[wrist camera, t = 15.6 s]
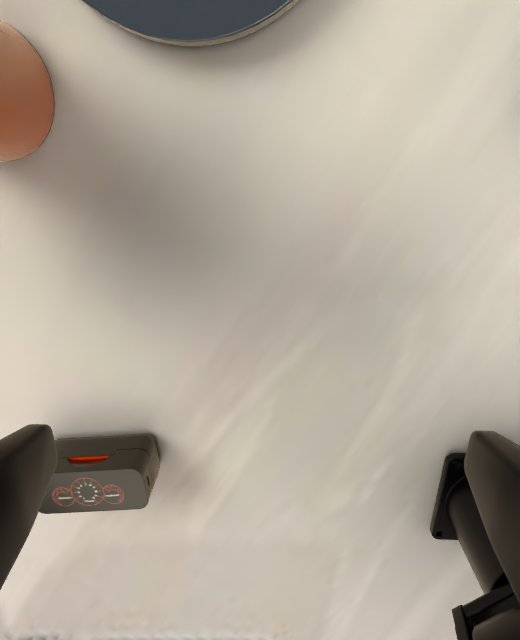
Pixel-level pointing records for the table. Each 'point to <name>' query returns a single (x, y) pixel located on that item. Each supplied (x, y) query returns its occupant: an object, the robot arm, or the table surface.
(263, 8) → the slate plate
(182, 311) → the table surface
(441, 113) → the table surface
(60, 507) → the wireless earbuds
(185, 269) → the table surface
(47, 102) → the canister
